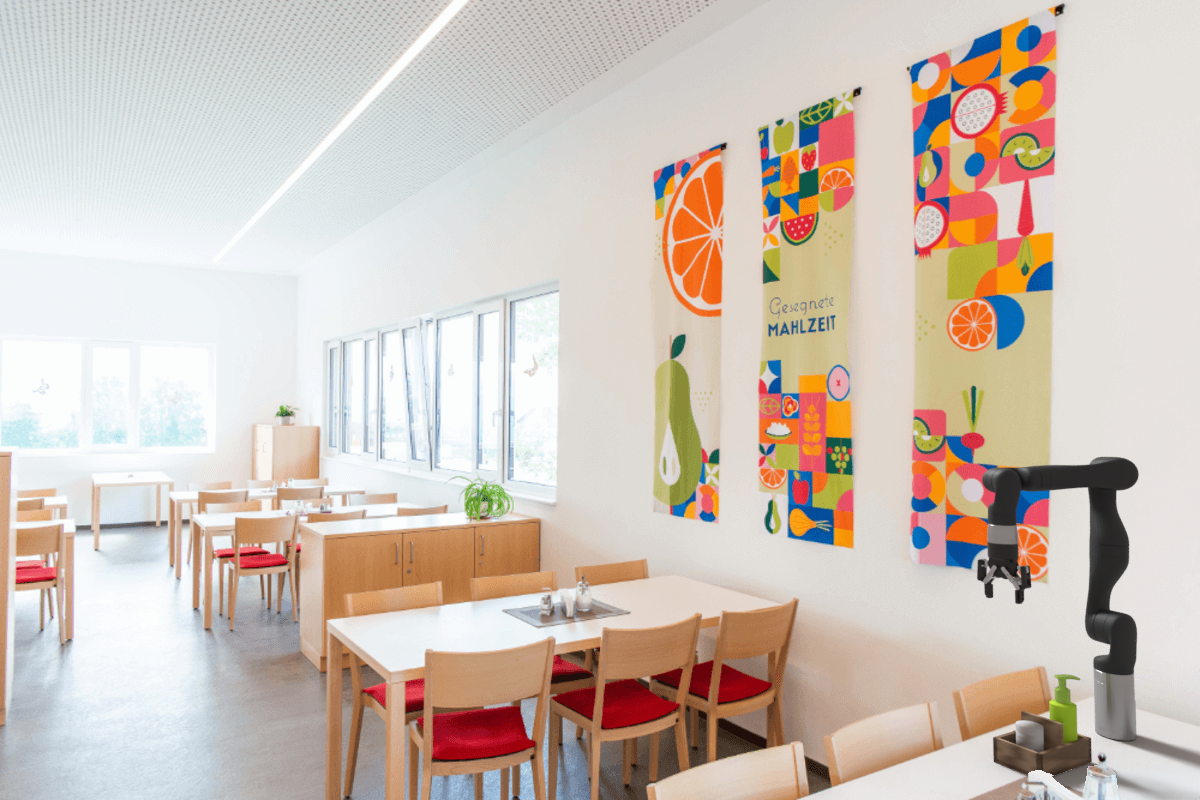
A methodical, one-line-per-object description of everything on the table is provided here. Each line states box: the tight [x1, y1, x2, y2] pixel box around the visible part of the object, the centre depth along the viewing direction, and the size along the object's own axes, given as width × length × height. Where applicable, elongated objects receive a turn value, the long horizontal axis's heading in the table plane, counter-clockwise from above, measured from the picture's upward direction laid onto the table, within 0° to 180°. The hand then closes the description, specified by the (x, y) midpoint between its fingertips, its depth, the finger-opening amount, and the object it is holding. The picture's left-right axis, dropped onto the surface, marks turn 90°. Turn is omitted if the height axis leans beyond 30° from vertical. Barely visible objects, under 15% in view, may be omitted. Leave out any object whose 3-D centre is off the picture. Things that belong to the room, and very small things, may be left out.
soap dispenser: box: [1048, 673, 1081, 744], centre depth 192 cm, size 6×7×20 cm
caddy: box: [992, 710, 1093, 777], centre depth 191 cm, size 12×21×11 cm, turn 119°
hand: (1004, 600), depth 210 cm, fingers open, 8 cm apart
